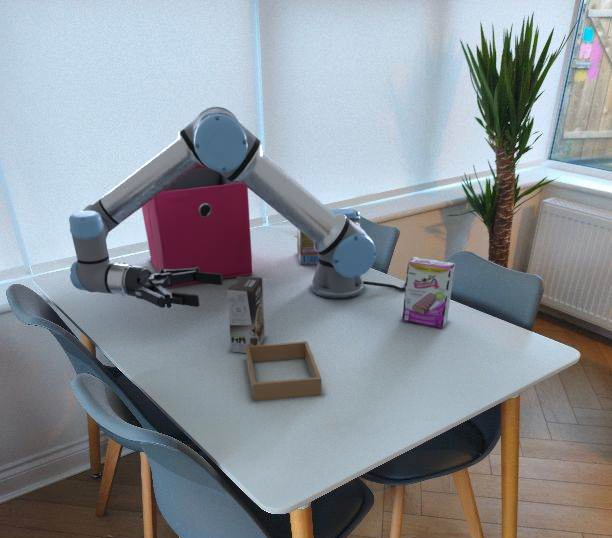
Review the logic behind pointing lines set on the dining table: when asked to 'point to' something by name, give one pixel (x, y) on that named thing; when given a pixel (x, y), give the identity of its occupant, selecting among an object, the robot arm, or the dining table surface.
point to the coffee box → (245, 313)
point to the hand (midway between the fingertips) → (210, 289)
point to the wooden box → (283, 386)
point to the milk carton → (306, 249)
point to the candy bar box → (428, 292)
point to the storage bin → (200, 225)
